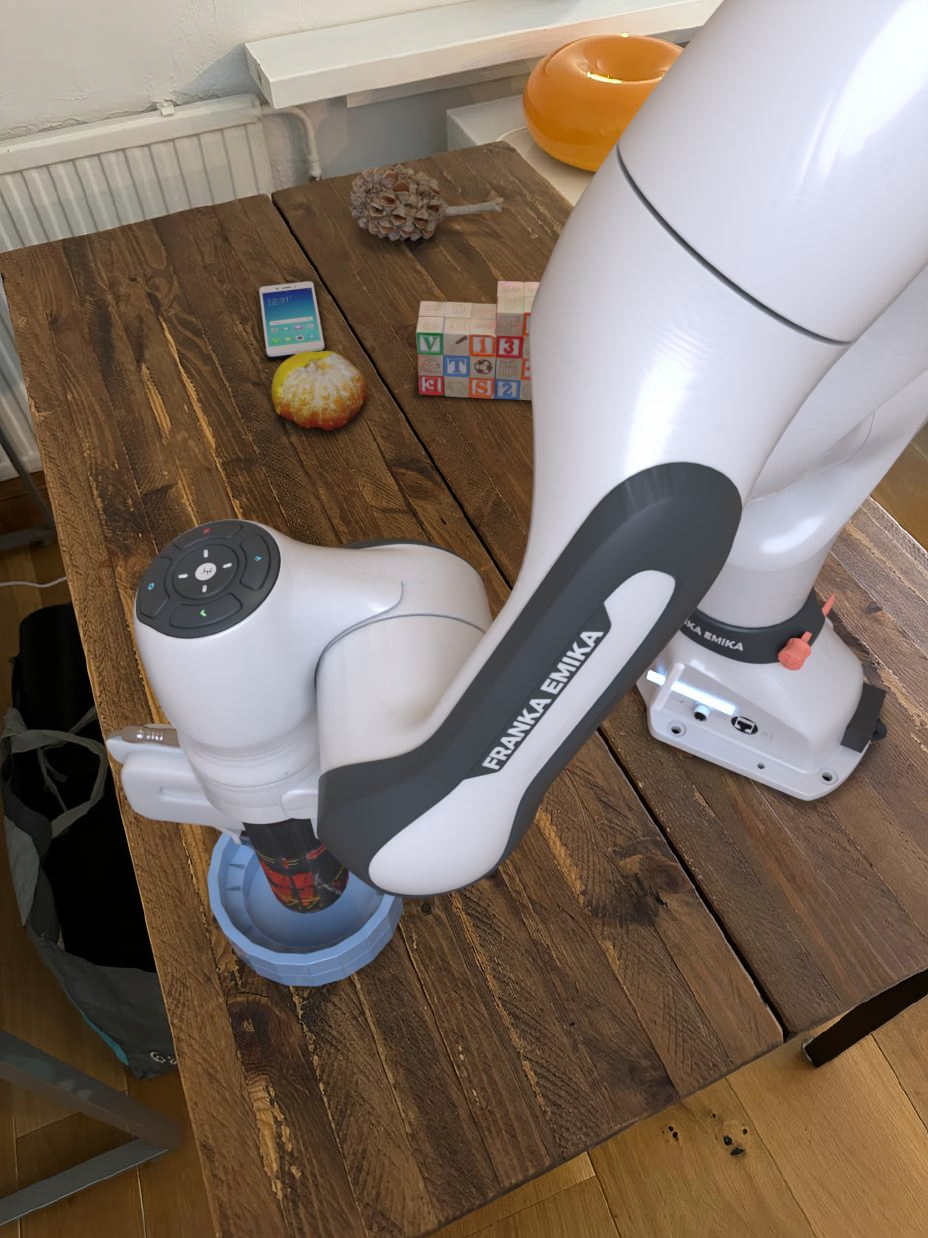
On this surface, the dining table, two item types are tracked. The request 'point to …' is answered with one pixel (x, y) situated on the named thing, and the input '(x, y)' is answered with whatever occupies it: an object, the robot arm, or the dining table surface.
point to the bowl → (296, 922)
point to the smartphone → (290, 319)
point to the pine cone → (404, 203)
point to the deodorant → (297, 865)
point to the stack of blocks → (477, 345)
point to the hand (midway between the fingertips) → (299, 842)
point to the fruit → (318, 390)
